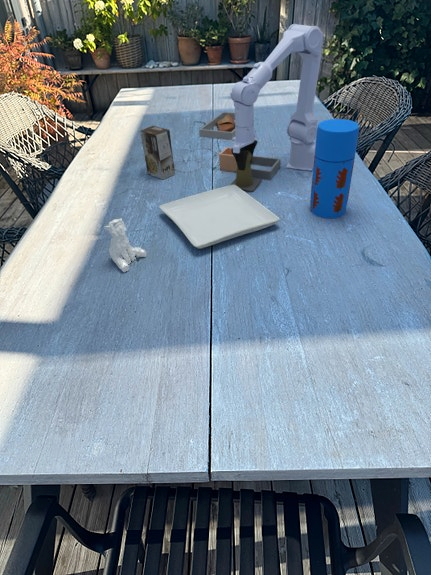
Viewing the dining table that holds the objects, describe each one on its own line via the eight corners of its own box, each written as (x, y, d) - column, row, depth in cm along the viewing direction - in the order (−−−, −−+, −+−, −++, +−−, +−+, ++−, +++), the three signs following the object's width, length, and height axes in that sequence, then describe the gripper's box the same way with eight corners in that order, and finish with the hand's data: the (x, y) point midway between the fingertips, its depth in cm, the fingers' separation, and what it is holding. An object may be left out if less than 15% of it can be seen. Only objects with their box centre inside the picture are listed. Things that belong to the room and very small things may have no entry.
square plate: (196, 258, 109) (195, 246, 107) (159, 215, 128) (157, 204, 126) (281, 228, 118) (281, 217, 116) (234, 192, 137) (233, 182, 135)
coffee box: (176, 174, 151) (170, 129, 141) (162, 180, 147) (156, 135, 137) (159, 168, 156) (153, 124, 146) (146, 174, 152) (139, 130, 142)
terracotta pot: (244, 164, 153) (244, 149, 150) (237, 172, 149) (236, 156, 145) (227, 162, 156) (226, 147, 152) (219, 170, 151) (218, 154, 147)
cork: (251, 187, 137) (250, 155, 130) (233, 186, 139) (232, 154, 132) (254, 179, 142) (254, 148, 135) (237, 178, 143) (236, 147, 136)
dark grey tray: (253, 120, 192) (253, 114, 190) (232, 139, 174) (231, 132, 172) (223, 118, 197) (222, 111, 195) (199, 136, 180) (198, 129, 178)
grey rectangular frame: (280, 166, 150) (280, 158, 148) (270, 179, 142) (270, 171, 140) (250, 163, 154) (250, 155, 152) (239, 175, 146) (239, 167, 144)
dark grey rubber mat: (262, 181, 142) (262, 179, 142) (252, 192, 136) (252, 190, 135) (238, 177, 145) (238, 176, 145) (228, 188, 139) (228, 187, 139)
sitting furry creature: (125, 274, 105) (115, 234, 97) (101, 265, 109) (89, 226, 101) (148, 255, 111) (140, 216, 103) (124, 247, 115) (115, 209, 107)
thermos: (347, 203, 126) (361, 119, 111) (344, 220, 119) (358, 133, 103) (312, 199, 130) (320, 117, 114) (306, 216, 122) (314, 131, 106)
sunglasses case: (214, 122, 193) (220, 109, 189) (227, 129, 195) (233, 115, 192) (218, 134, 179) (225, 120, 175) (232, 141, 181) (239, 127, 178)
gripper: (241, 116, 134) (241, 156, 143) (223, 131, 124) (225, 173, 133) (261, 118, 131) (261, 159, 140) (244, 133, 122) (245, 176, 130)
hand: (244, 166), depth 136 cm, fingers closed on cork, 5 cm apart
